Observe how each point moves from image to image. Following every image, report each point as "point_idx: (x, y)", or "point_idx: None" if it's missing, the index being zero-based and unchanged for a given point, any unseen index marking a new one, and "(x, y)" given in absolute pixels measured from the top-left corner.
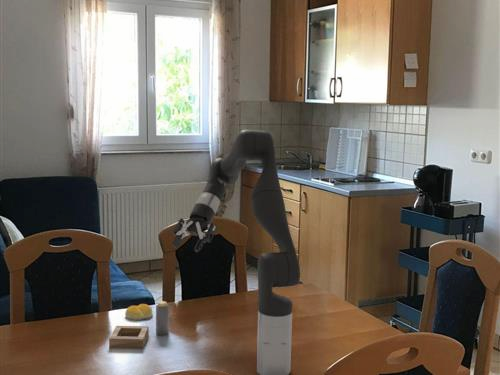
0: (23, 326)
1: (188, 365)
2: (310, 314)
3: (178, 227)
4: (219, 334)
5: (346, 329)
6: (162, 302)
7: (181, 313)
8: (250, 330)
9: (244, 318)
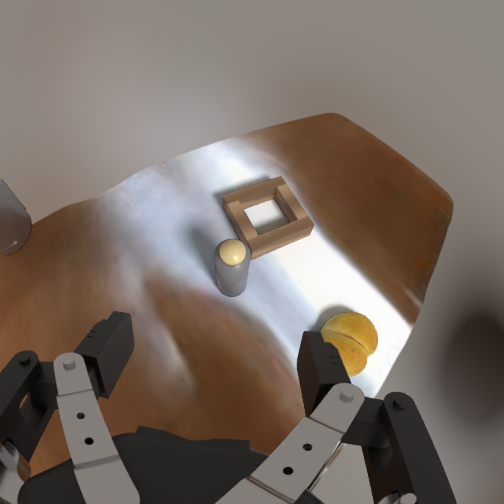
0: (440, 205)
1: (122, 192)
2: None
3: (397, 447)
4: None
5: None
6: (234, 253)
7: (264, 414)
8: None
9: None
